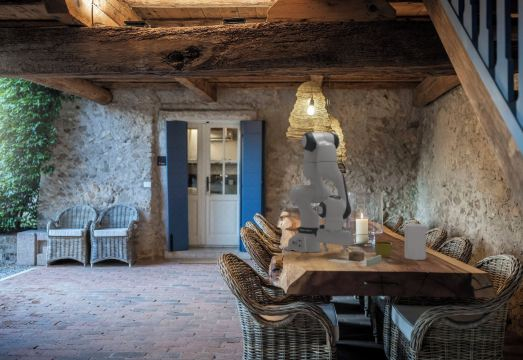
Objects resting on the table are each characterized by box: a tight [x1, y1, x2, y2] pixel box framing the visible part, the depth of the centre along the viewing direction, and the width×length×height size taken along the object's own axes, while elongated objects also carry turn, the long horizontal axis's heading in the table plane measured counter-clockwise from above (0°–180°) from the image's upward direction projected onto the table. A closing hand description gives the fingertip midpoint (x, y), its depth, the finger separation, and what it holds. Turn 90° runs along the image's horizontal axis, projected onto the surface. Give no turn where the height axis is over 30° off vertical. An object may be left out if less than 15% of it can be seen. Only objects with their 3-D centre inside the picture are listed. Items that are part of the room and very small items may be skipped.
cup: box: [403, 223, 427, 261], centre depth 254 cm, size 11×11×18 cm
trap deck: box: [327, 255, 382, 267], centre depth 236 cm, size 22×18×4 cm
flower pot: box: [374, 240, 393, 259], centre depth 250 cm, size 9×9×9 cm
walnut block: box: [348, 250, 365, 263], centre depth 238 cm, size 6×6×4 cm
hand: (334, 252), depth 245 cm, fingers open, 8 cm apart
